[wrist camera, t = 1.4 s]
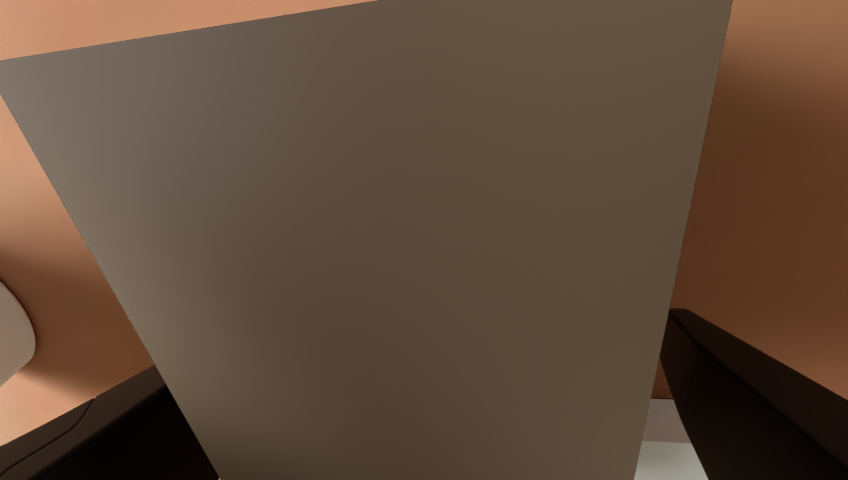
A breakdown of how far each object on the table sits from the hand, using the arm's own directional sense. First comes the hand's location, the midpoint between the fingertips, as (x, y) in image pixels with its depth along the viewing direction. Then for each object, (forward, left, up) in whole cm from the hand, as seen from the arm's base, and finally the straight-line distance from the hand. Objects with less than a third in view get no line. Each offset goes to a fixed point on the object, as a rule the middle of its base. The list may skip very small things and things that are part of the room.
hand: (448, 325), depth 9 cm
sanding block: (0, 0, -3) cm, 3 cm away
